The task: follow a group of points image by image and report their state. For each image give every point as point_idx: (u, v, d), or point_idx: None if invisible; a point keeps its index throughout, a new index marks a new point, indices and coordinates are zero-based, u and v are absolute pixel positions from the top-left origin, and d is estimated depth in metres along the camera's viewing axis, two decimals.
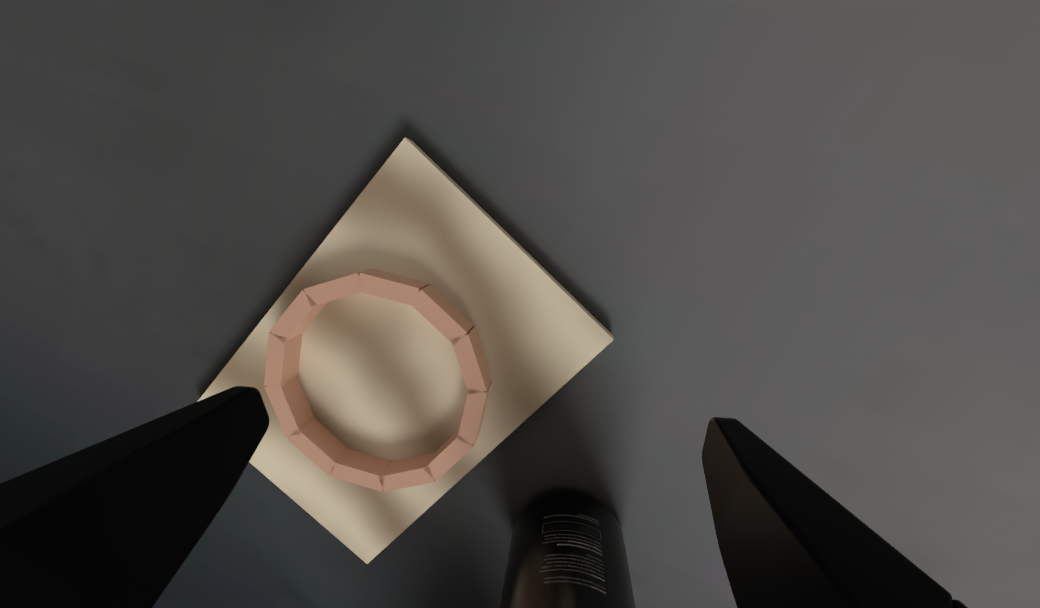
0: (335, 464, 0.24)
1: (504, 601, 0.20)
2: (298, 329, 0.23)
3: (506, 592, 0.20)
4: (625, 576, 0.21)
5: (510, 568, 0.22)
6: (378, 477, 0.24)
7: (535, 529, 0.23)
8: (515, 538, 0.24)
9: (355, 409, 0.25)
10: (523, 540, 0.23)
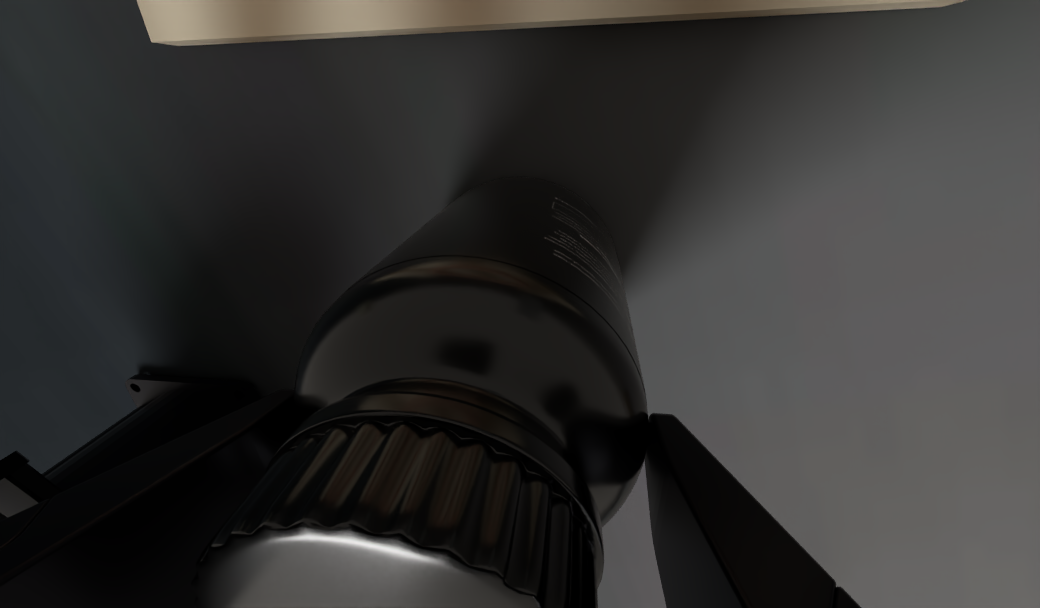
0: None
1: (429, 235, 0.08)
2: None
3: (439, 227, 0.09)
4: None
5: (457, 210, 0.10)
6: None
7: (536, 198, 0.11)
8: (478, 192, 0.12)
9: None
10: (504, 196, 0.11)
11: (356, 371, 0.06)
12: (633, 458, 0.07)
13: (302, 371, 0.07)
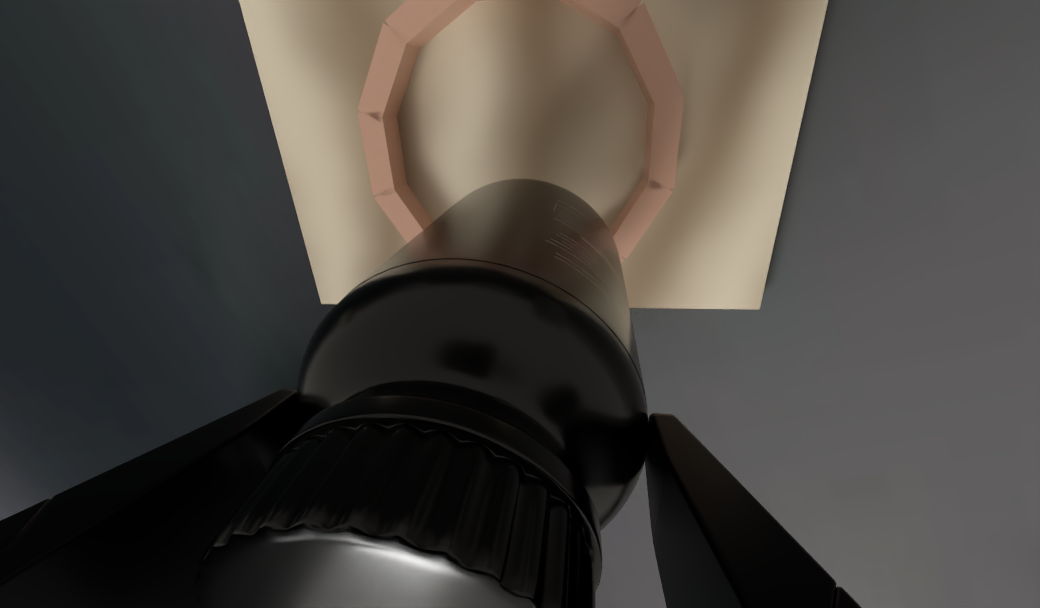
0: (392, 190, 0.18)
1: (430, 237, 0.08)
2: None
3: (441, 230, 0.09)
4: None
5: (460, 212, 0.10)
6: None
7: (538, 199, 0.11)
8: (481, 194, 0.12)
9: (454, 150, 0.18)
10: (506, 197, 0.11)
11: (356, 373, 0.06)
12: (633, 461, 0.07)
13: (304, 372, 0.07)
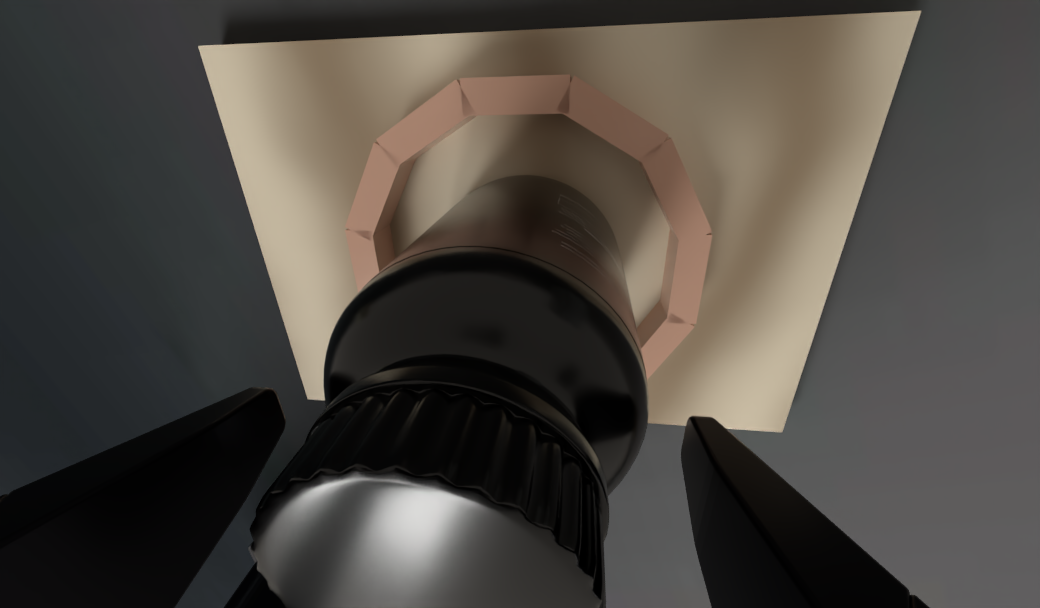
0: None
1: (445, 228, 0.09)
2: None
3: (454, 222, 0.09)
4: None
5: (469, 206, 0.11)
6: None
7: (542, 194, 0.12)
8: (488, 190, 0.12)
9: None
10: (512, 192, 0.11)
11: (384, 349, 0.07)
12: (635, 431, 0.08)
13: (332, 352, 0.08)
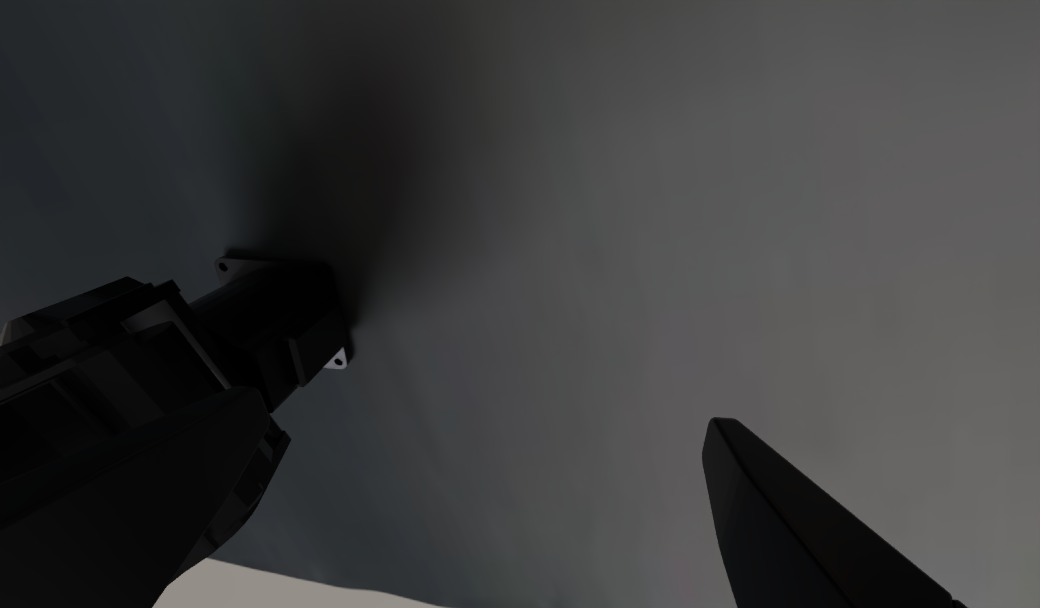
0: None
1: None
2: None
3: None
4: None
5: None
6: None
7: None
8: None
9: None
10: None
11: None
12: None
13: None
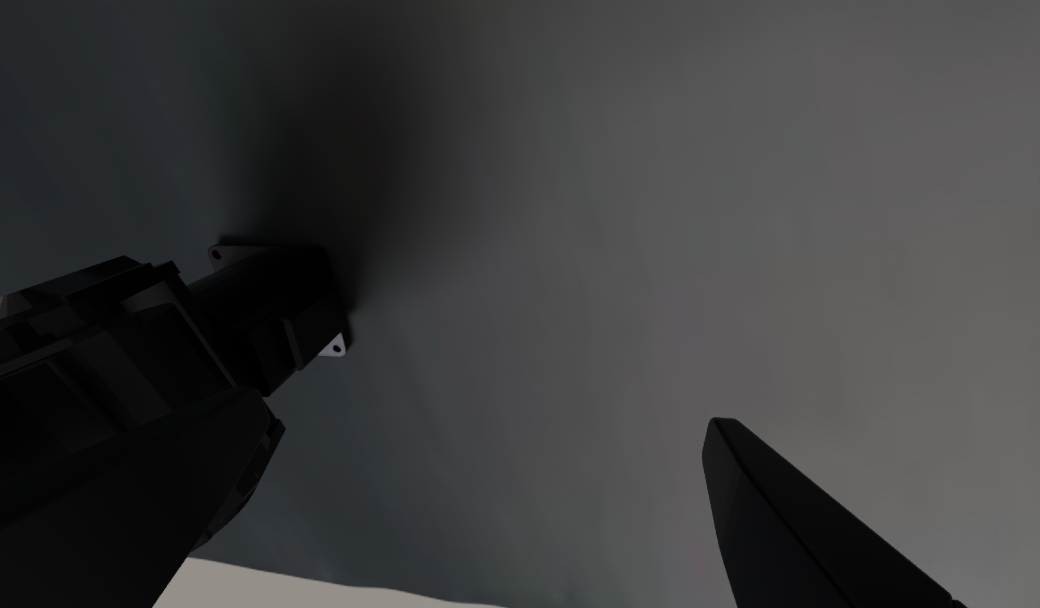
0: None
1: None
2: None
3: None
4: None
5: None
6: None
7: None
8: None
9: None
10: None
11: None
12: None
13: None
